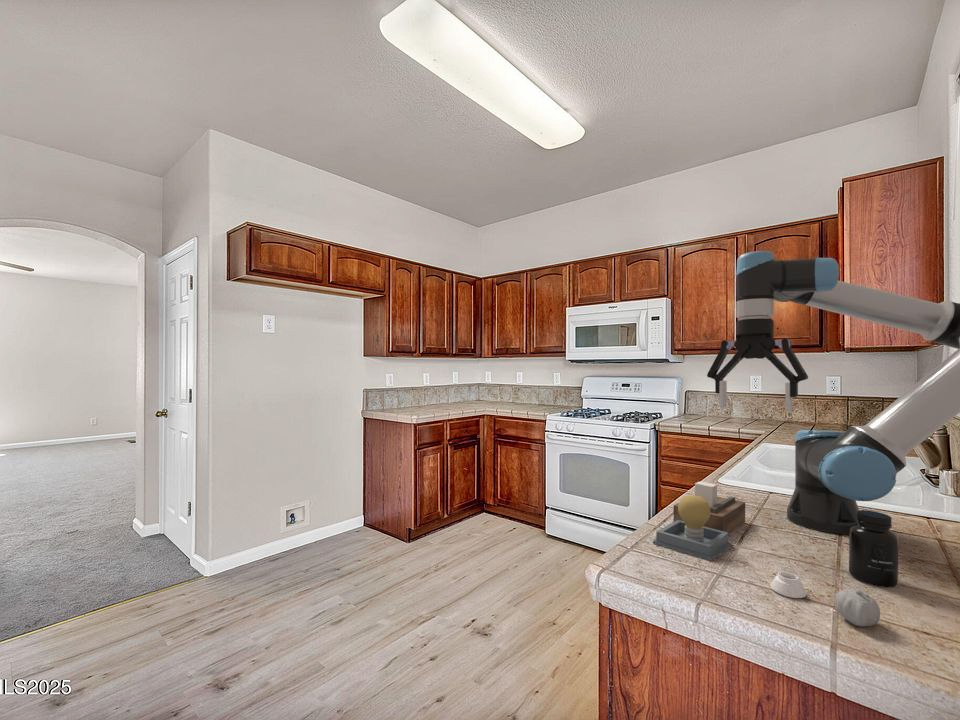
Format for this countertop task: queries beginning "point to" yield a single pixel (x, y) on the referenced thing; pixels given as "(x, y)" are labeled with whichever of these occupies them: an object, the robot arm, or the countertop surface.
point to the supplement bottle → (873, 549)
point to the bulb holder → (693, 541)
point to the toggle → (707, 492)
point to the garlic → (857, 607)
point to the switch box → (723, 515)
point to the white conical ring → (788, 585)
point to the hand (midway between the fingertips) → (754, 409)
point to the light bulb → (694, 516)
